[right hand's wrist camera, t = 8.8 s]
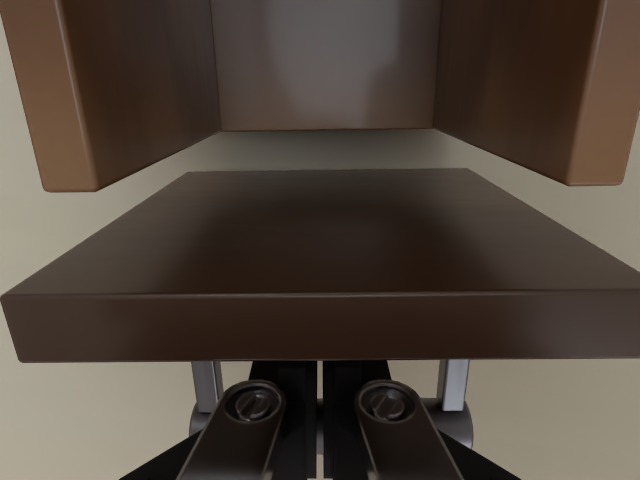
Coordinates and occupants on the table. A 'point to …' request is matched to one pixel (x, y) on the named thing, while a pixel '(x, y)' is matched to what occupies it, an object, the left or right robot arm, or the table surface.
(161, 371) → the table surface
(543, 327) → the drawer
